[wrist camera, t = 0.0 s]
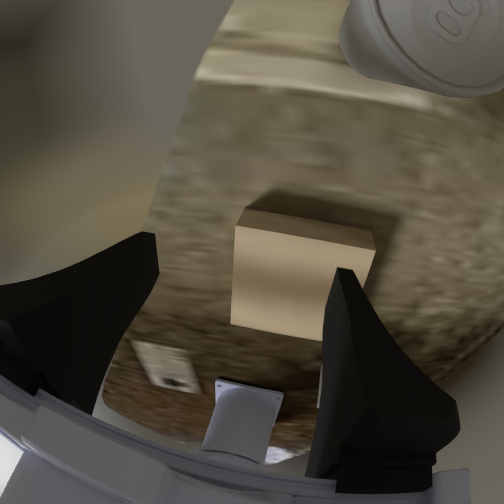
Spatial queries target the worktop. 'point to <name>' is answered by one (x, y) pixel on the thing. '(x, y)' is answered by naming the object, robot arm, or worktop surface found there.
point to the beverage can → (428, 44)
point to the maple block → (291, 270)
